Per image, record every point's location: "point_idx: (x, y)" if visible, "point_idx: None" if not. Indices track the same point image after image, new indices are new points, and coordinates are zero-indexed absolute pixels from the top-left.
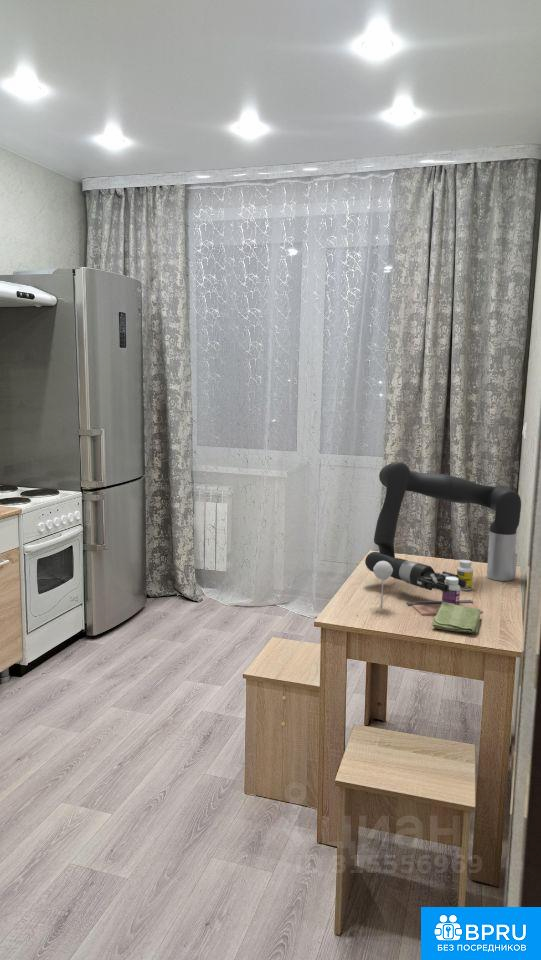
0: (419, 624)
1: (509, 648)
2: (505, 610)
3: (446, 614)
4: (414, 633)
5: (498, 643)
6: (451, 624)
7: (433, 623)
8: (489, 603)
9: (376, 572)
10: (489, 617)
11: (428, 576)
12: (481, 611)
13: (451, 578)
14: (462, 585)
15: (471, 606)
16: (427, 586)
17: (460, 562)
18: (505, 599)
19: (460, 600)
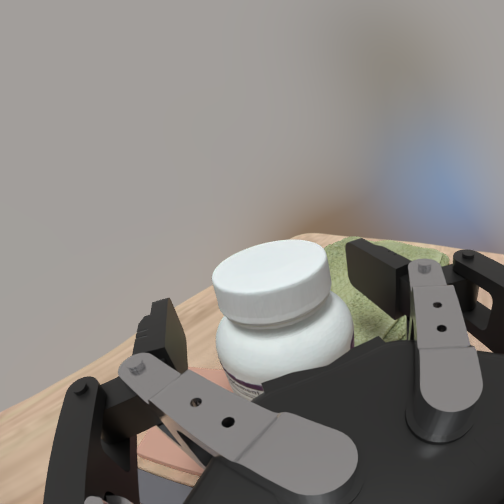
0: (482, 294)
1: (308, 233)
2: (103, 373)
3: None
4: (488, 255)
5: (314, 241)
6: (399, 242)
7: (445, 254)
8: None
9: None
10: (206, 341)
11: (484, 417)
12: (194, 367)
13: (275, 258)
14: (182, 337)
15: None
16: (482, 329)
17: None
18: (10, 429)
19: (149, 502)
